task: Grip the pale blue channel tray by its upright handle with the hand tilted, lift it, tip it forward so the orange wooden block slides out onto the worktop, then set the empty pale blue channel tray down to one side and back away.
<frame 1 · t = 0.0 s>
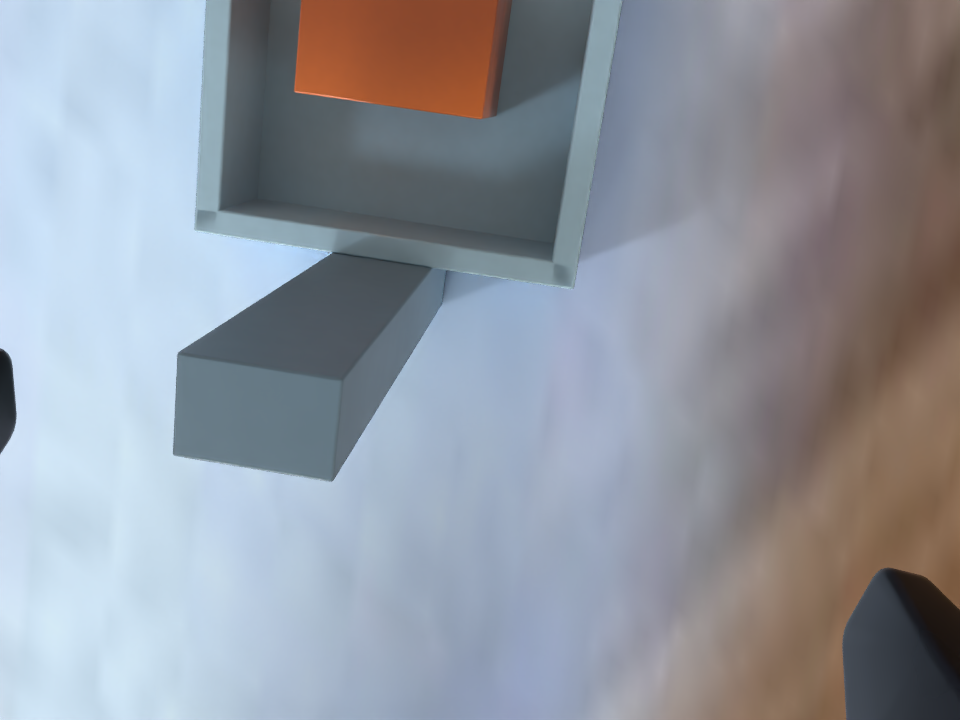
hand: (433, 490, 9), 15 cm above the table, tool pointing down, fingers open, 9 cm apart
block: (426, 20, 22), resting on pale blue channel tray
pale blue channel tray: (422, 85, 23), on the table
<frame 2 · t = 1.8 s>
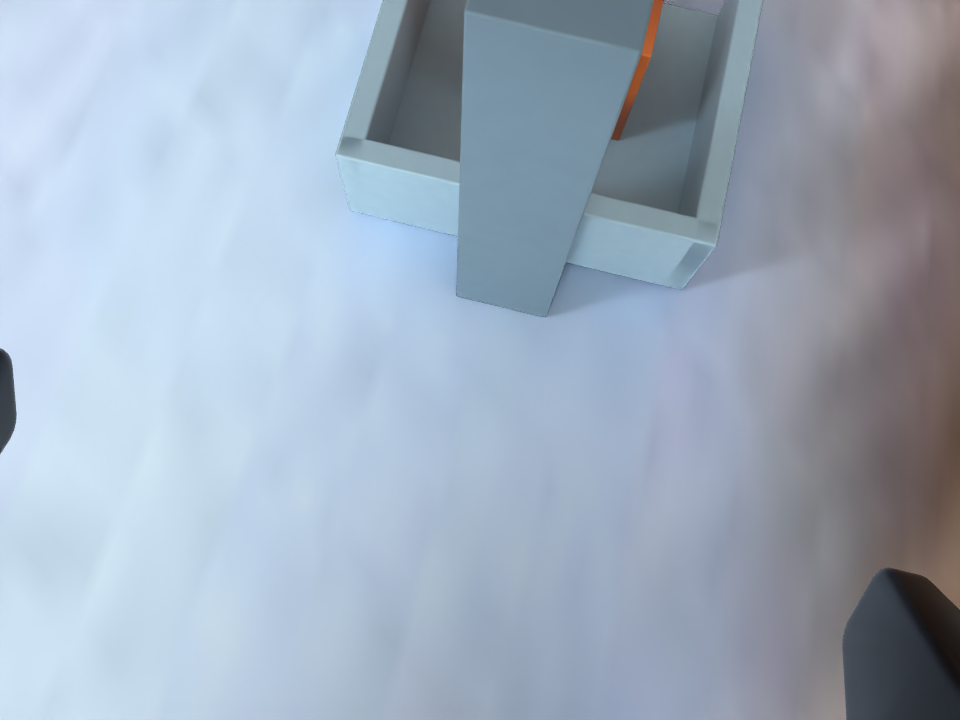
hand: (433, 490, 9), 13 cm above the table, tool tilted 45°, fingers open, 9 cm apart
block: (561, 60, 25), resting on pale blue channel tray
pale blue channel tray: (547, 117, 25), on the table, touching block
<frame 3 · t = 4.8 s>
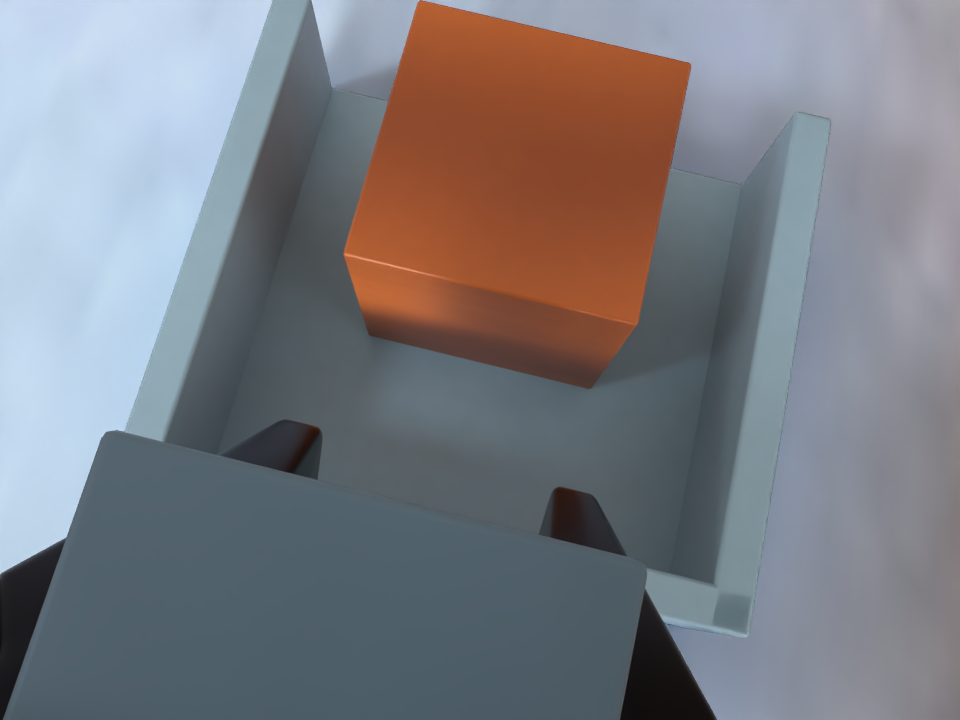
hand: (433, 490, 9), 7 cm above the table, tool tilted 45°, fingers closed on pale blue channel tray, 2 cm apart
block: (505, 257, 16), resting on pale blue channel tray
pale blue channel tray: (484, 343, 16), on the table, touching block, gripper
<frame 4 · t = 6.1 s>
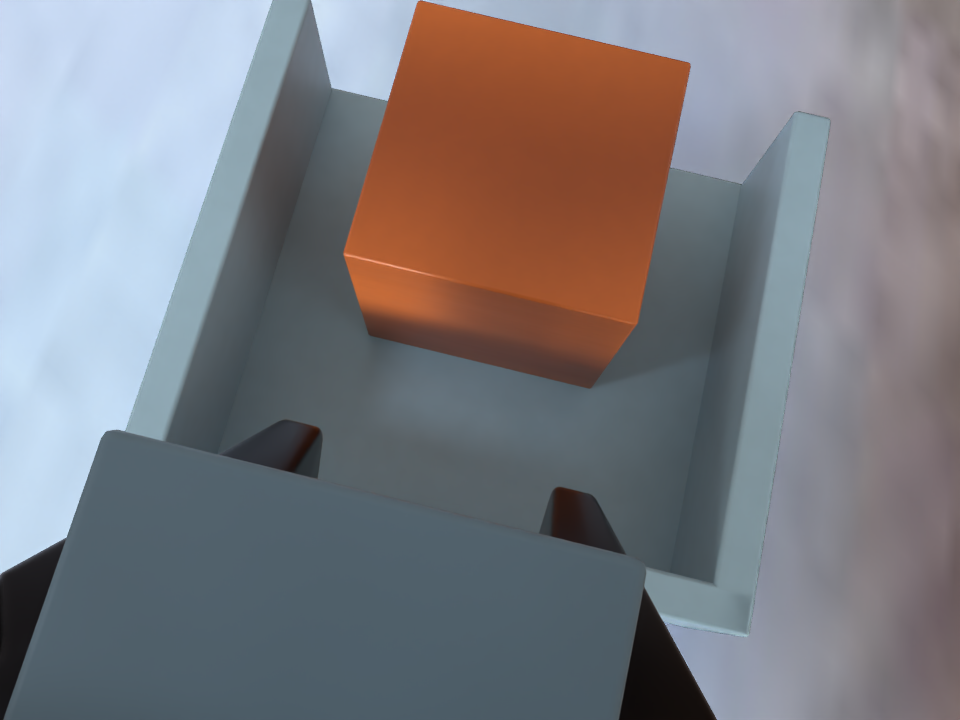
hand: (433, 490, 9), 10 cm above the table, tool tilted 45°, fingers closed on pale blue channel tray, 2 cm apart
block: (505, 257, 16), point 4 cm above the table, touching pale blue channel tray
pale blue channel tray: (484, 343, 16), point 4 cm above the table, touching block, gripper
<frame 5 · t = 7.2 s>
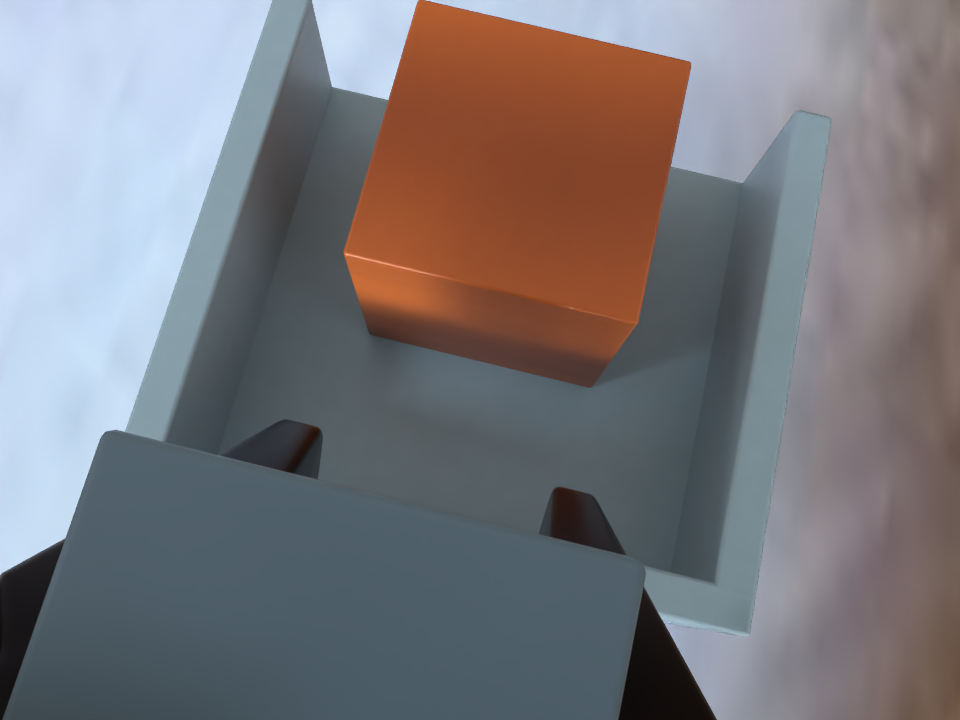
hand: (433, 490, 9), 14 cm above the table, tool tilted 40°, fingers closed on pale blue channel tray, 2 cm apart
block: (505, 256, 16), point 7 cm above the table, tilted 6°, touching pale blue channel tray
pale blue channel tray: (485, 342, 16), point 7 cm above the table, tilted 6°, touching block, gripper
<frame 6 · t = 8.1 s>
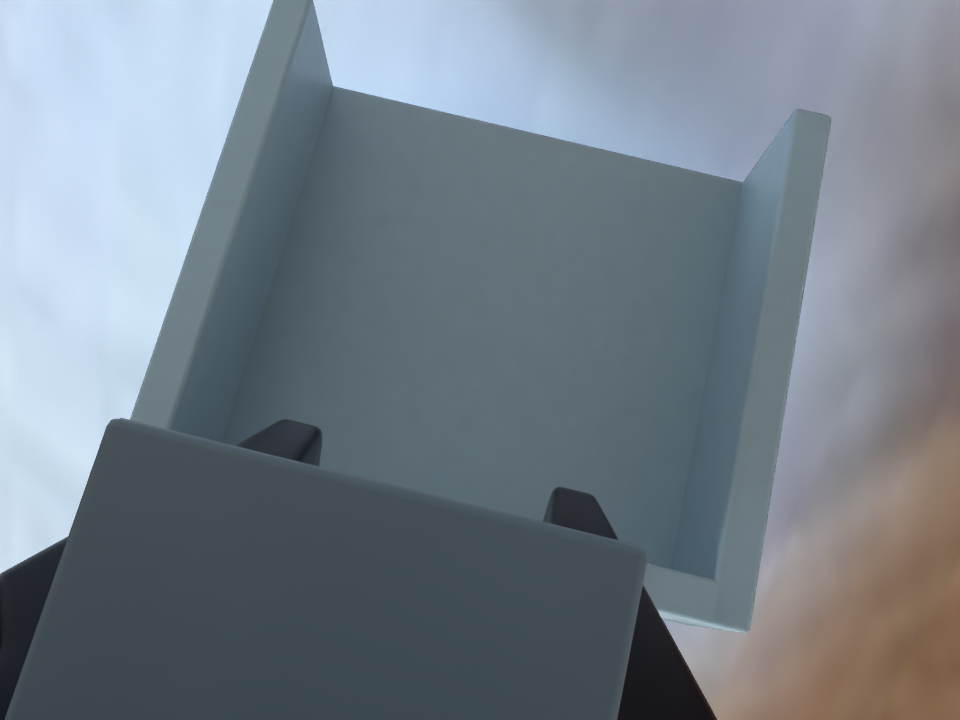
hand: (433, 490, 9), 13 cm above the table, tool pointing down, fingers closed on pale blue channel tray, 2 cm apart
pale blue channel tray: (485, 340, 16), point 6 cm above the table, tilted 45°, touching gripper
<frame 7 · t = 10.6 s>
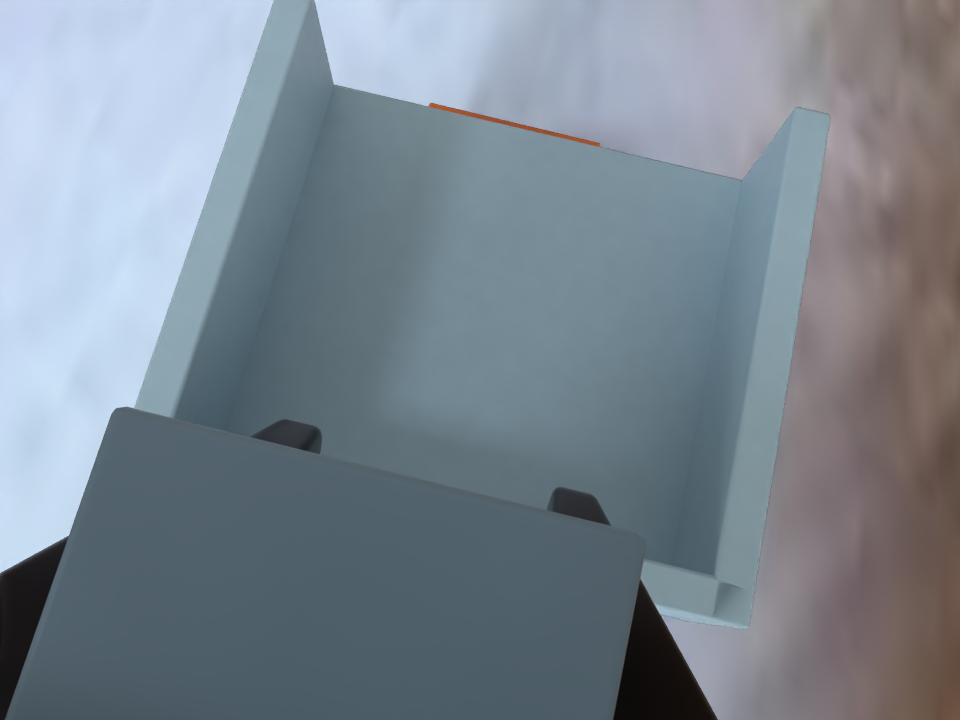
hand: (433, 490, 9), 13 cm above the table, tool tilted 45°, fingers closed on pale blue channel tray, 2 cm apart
block: (470, 311, 22), point 2 cm above the table, tilted 90°
pale blue channel tray: (486, 338, 17), point 7 cm above the table, touching gripper
when the fingers open (7 cm above the table, at t = 14.4 s): pale blue channel tray stays where it is, on the table.
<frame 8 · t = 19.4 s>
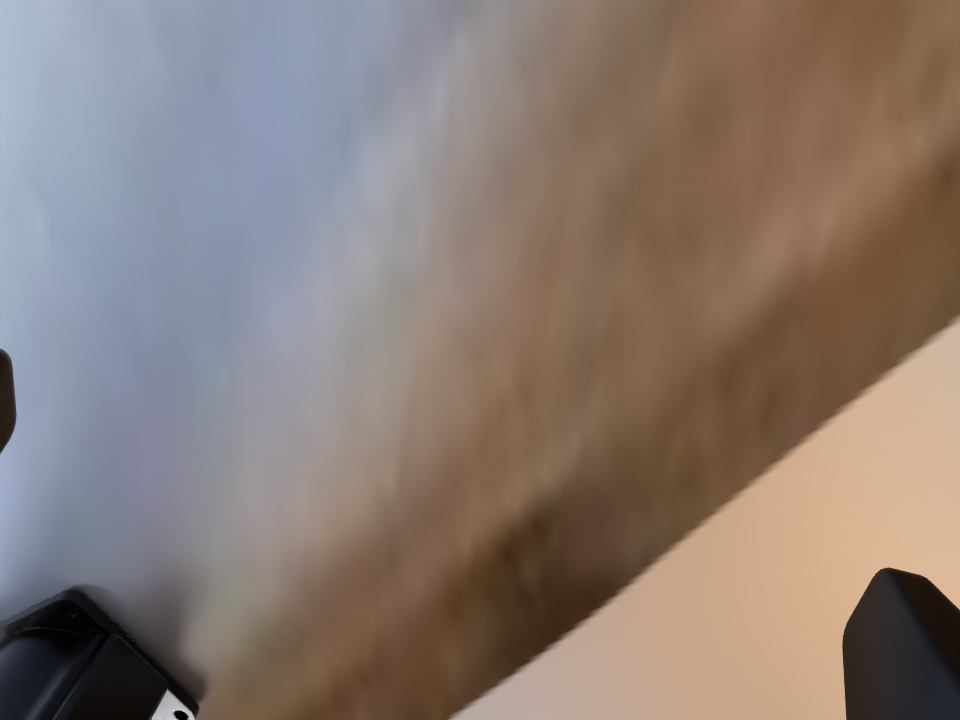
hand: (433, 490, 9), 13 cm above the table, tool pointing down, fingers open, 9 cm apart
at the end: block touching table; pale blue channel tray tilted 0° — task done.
